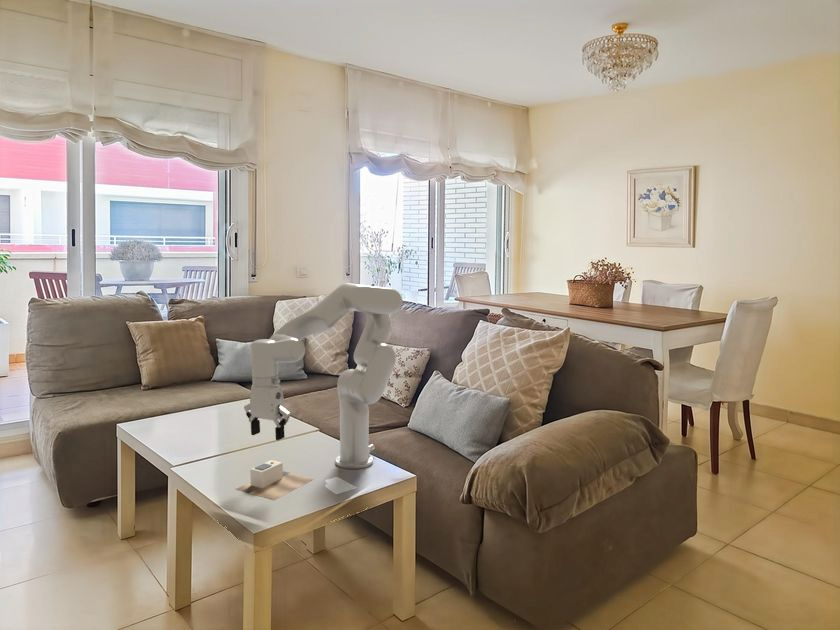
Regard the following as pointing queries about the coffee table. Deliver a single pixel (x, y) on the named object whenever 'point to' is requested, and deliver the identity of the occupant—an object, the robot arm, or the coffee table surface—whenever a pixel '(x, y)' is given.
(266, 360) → the robot arm
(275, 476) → the stud finder
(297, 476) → the subfloor board
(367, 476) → the coffee table surface
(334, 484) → the hard drive
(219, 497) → the coffee table surface
